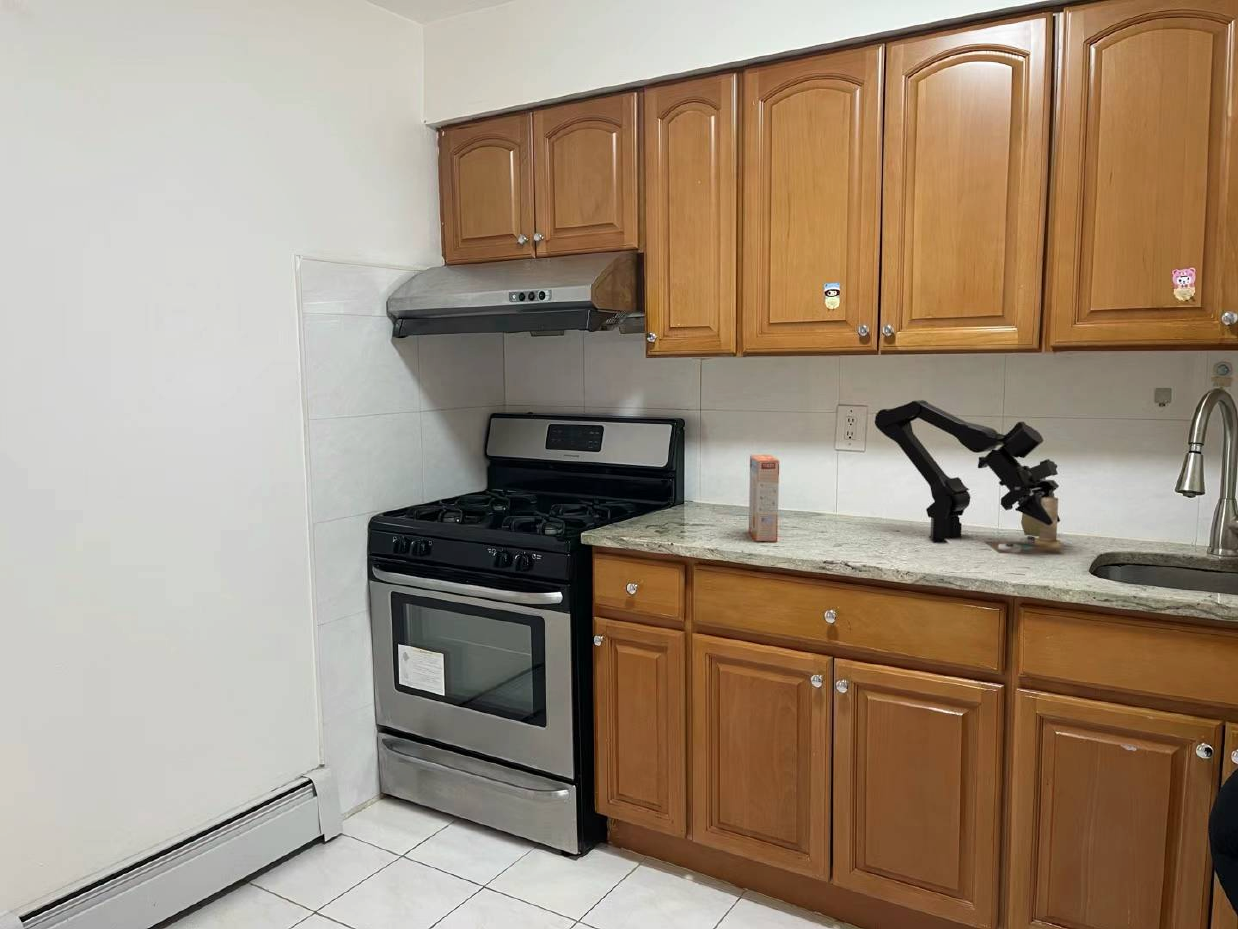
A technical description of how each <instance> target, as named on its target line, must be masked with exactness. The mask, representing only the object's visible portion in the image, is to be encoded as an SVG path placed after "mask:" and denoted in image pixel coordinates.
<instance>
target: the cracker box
mask: <svg viewBox="0 0 1238 929" xmlns="http://www.w3.org/2000/svg"><path fill="white" fill-rule="evenodd" d="M779 480H780V460H779V459H777V458H775V457H774V456H773V455H771V454H750V456H749V492H748V493H749V496H748V497H749V498H748V500H749V501H748V533H749V534H750V535H751V537H752V538H753V540H754V541H755V542H757V541H765V542H766V543H767V542H771V543H773V542H774V543H775V542H778V532H779V531H778V528H779V527H778V525H779V492H780V491H779V488H780V487H779V484H780V481H779ZM765 542H764V543H765Z"/></svg>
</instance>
